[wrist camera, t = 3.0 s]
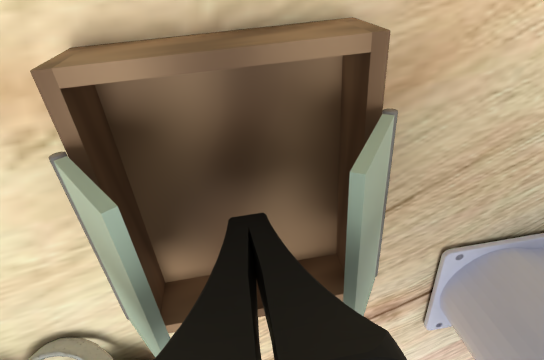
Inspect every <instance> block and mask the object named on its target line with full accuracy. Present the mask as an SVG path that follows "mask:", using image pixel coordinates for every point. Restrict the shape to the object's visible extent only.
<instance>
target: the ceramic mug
mask: <svg viewBox="0 0 544 360" xmlns="http://www.w3.org/2000/svg"><path fill="white" fill-rule="evenodd" d="M54 356H62V357H72V358H74V359H77V360H114V359H113V358H112V356H111V355H110V354H109V353H107V352H106V351H105V350H104V349H103V348H101V347H100V346H99V345H98V344H96V343H94V342H92V341H89V340H86V339H84V338H72V337H67V338H60V339H57V340H55V341H52V342H50V343H47V344H46V345H44V346H43V347H41V348H40V349H39V350H38V351H37V352H36V353H34V354H33V355H32V356H31V357H30V358H29V359H28V360H43V359H45V358H48V357H54Z"/></svg>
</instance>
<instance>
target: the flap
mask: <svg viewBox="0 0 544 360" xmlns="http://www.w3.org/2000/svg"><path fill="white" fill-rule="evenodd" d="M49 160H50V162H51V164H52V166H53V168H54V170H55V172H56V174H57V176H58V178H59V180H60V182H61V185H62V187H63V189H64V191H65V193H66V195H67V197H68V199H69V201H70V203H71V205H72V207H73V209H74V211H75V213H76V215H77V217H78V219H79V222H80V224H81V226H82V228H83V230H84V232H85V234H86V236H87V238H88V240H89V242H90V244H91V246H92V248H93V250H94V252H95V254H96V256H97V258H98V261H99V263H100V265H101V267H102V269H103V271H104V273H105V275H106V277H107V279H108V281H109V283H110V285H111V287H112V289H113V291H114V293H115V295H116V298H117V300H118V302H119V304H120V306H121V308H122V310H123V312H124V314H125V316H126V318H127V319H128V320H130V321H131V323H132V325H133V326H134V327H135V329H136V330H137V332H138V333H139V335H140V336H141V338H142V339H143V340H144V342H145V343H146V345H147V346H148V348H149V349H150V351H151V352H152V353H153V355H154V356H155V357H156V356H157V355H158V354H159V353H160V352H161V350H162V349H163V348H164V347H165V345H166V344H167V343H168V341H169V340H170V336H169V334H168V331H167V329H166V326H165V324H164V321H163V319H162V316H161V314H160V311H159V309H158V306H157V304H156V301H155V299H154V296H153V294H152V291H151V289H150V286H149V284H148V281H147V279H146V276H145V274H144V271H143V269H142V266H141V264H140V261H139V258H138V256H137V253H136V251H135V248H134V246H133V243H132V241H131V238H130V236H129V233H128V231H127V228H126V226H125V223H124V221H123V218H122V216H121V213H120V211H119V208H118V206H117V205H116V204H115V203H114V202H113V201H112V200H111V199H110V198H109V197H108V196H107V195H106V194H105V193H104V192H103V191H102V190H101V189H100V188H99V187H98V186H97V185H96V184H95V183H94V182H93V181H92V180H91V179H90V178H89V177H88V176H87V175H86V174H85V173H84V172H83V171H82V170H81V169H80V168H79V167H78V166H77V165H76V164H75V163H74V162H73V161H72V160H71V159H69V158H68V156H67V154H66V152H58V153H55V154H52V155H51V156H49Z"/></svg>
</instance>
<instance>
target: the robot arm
mask: <svg viewBox="0 0 544 360" xmlns="http://www.w3.org/2000/svg"><path fill="white" fill-rule="evenodd" d="M256 280H257V281H256ZM257 284H258V288H259V292H260V296H261V300H262V304H263V308H264V312H265V316H266V320H267V324H268V328H269V332H270V337H271V341H272V347H273V353H274V360H407V359H406V357H405V356H404V354H403V352H402V351H401V349H400V348H399V346H398V345H397V343H396V342H395V340H394V339H393V338H392V336H391V335H390V334H389V332H388V331H387V330H385V329H384V328H382V327H380V326H378V325H377V324H375V323H373V322H372V321H370V320H368V319H367V318H365V317H364V316H362V315H361V314H359V313H358V312H356V311H355V310H353V309H352V308H351V307H349V306H348V305H346V304H345V303H344V302H342V301H341V300H340V299H339V298H337V297H336V296H335V295H334V294H332V293H331V292H330V291H328V290H327V289H326V288H325V287H324V286H323V285H322V284H320V283H319V282H318V281H317V280H316V279H315V278H314V277H313V276H312V275H311V274H310V273H309V272H308V271H307V270H306V269H305V268H304V267H303V266H302V265H301V264H300V263H299V262H298V260H297V259H296V258H295V257H294V256H293V255H292V253H291V252H290V251H289V250H288V248H287V247H286V246H285V245H284V243H283V242H282V241H281V239H280V238H279V236H278V235H277V233H276V232H275V230H274V229H273V227H272V225H271V224H270V222H269V220H268V218H267V215H266V214H265V213H257V214H250V215H244V216H237V217H231V218H230V219H229V220H228V226H227V230H226V234H225V238H224V241H223V244H222V247H221V250H220V253H219V256H218V258H217V261H216V263H215V265H214V268H213V270H212V272H211V274H210V277H209V279H208V281H207V283H206V285H205V287H204V288H203V290H202V292H201V294H200V296H199V297H198V299H197V301H196V302H195V304H194V306H193V307H192V309H191V310H190V312H189V314H188V315H187V317H186V318H185V320H184V321H183V323H182V324H181V325H180V327H179V328H178V329H177V331H176V332H175V333H174V335H173V336H172V337H171V339H170V340H169V341H168V343H167V344H166V345H165V347H164V348H163V349H162V350H161V352H160V353H159V354H158V355H157V356H156V357H155V358H154V360H261V353H260V344H259V330H258V305H257ZM424 326H425V328H426V329H427V330H435V329H440V328H446V327H451V326H453V328H454V329H455V331H456V332H457V334H458V335H459V337H460V338H461V340H462V341H463V343H464V344H465V346H466V347H467V349H468V350H469V352H470V353H471V355H472V356H473V358H474V359H475V360H544V233H541V234H535V235H529V236H523V237H517V238H511V239H505V240H500V241H494V242H488V243H482V244H476V245H470V246H465V247H459V248H453V249H448V250H446V251H445V252H444V253H443V254H442V256H441V260H440V264H439V268H438V271H437V275H436V279H435V283H434V287H433V291H432V295H431V298H430V302H429V306H428V310H427V314H426V318H425V321H424Z"/></svg>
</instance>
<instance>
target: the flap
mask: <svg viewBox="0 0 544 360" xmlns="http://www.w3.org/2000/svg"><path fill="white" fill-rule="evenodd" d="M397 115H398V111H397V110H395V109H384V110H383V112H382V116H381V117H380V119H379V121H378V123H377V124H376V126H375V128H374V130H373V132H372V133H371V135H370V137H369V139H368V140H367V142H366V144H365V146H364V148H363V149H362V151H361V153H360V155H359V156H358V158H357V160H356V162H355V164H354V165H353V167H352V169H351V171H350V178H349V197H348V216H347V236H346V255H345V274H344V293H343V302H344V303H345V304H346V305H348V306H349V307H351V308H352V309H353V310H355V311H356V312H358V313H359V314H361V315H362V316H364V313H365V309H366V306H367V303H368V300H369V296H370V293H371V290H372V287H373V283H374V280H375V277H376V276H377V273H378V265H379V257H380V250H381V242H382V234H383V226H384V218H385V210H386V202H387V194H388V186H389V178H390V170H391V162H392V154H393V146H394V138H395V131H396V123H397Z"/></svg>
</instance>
